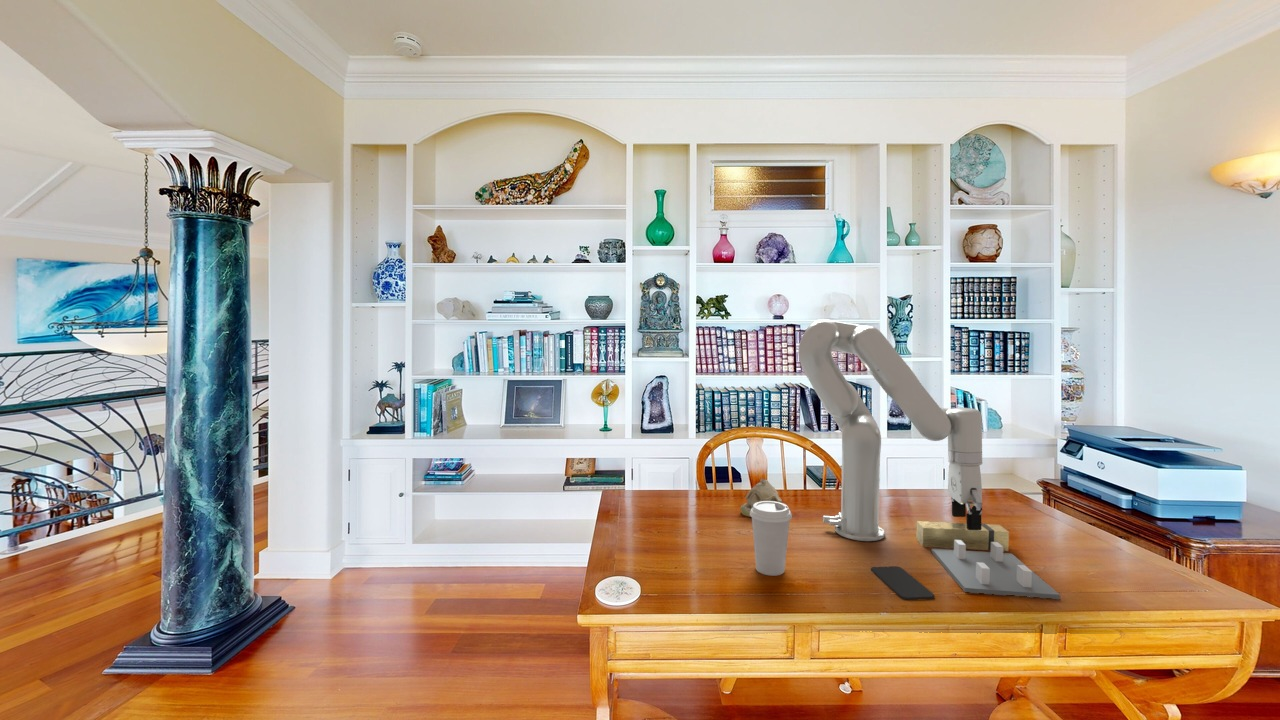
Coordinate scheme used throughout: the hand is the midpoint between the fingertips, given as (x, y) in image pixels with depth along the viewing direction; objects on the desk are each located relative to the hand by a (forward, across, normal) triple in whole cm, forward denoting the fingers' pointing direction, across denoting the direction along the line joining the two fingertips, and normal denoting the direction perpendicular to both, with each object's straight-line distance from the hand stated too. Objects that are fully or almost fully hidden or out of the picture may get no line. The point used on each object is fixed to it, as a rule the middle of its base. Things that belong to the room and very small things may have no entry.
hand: (966, 522), depth 142 cm
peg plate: (+6, +17, -1) cm, 18 cm away
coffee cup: (+4, +23, -50) cm, 55 cm away
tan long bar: (+6, 0, -1) cm, 6 cm away
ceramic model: (+4, -18, -51) cm, 54 cm away
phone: (+6, +25, -22) cm, 34 cm away
